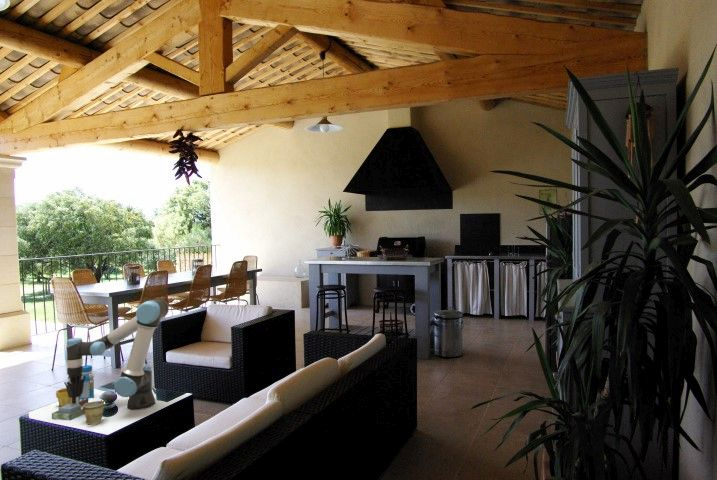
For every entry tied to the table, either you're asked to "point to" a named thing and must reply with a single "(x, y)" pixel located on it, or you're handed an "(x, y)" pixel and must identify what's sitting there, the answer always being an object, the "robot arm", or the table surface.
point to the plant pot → (63, 397)
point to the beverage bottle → (87, 383)
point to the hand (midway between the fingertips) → (75, 408)
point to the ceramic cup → (94, 411)
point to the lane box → (71, 416)
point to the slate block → (69, 408)
